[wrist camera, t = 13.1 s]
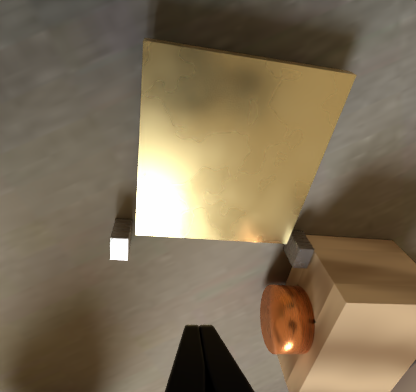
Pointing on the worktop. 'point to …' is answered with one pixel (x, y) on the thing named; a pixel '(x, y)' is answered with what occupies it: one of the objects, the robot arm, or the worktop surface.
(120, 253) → the keeper bracket
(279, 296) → the hitch pin
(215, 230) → the plate
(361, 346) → the block
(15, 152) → the worktop surface
